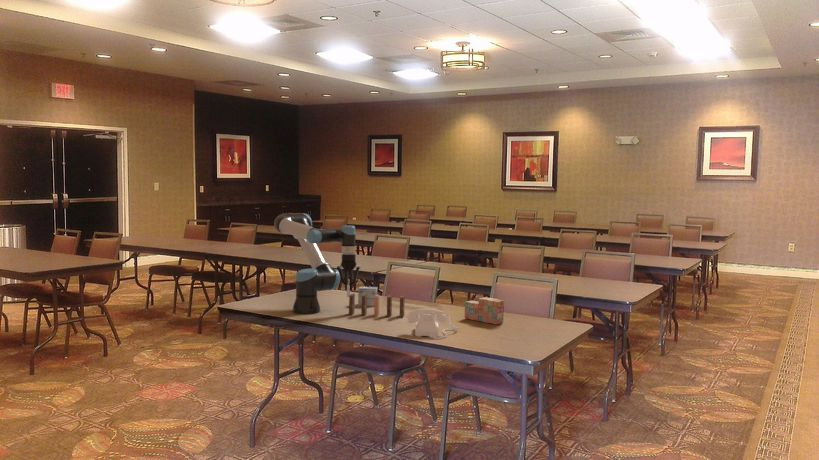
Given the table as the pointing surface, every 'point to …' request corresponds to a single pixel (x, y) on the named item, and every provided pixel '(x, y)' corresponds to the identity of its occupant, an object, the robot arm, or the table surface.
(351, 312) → the walnut domino
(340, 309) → the table surface
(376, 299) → the terracotta domino
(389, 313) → the walnut domino
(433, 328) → the telephone
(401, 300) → the walnut domino
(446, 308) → the table surface
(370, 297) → the light bulb box
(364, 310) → the walnut domino
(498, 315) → the stack of blocks
